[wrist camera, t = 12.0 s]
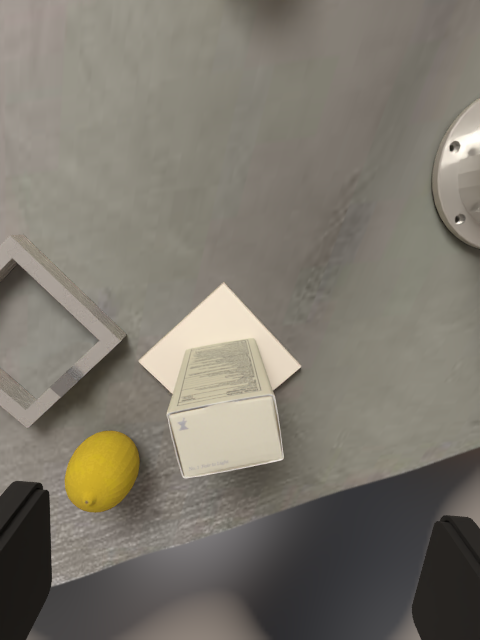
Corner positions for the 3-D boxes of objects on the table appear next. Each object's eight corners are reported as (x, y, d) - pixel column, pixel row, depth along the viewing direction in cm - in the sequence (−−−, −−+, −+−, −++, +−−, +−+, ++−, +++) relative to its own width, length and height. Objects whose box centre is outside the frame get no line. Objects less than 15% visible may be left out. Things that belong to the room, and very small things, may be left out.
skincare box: (194, 393, 34) (178, 482, 22) (184, 346, 33) (161, 413, 21) (265, 381, 34) (286, 464, 22) (257, 333, 33) (275, 393, 21)
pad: (223, 281, 32) (223, 283, 32) (299, 363, 34) (301, 366, 33) (140, 358, 34) (138, 361, 33) (218, 432, 36) (217, 437, 35)
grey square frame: (23, 234, 31) (4, 235, 28) (126, 334, 33) (118, 344, 30) (-66, 327, 32) (-93, 336, 30) (38, 417, 35) (22, 433, 32)
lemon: (91, 409, 35) (52, 462, 27) (152, 421, 35) (131, 476, 27) (83, 462, 36) (43, 527, 28) (142, 473, 36) (118, 540, 28)
